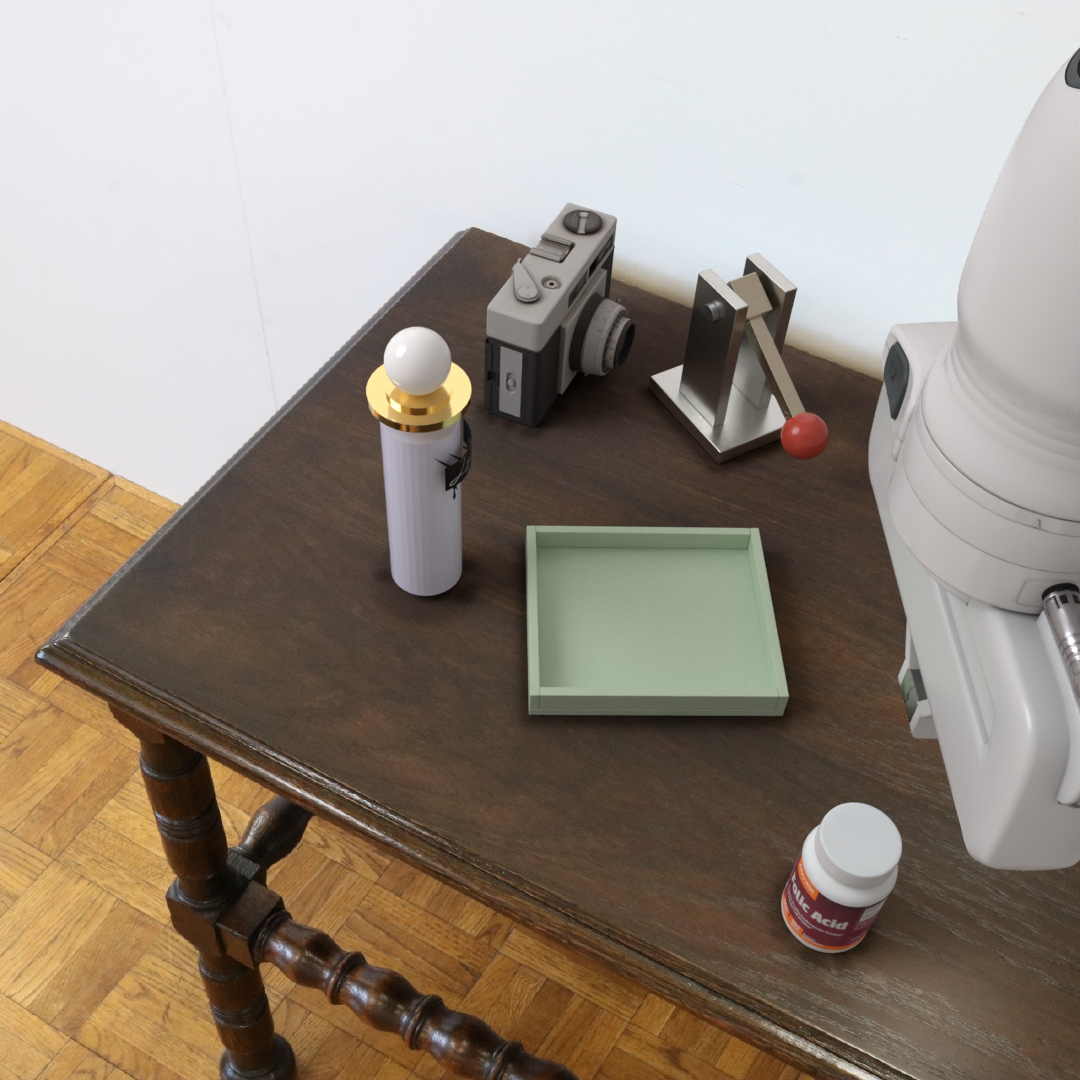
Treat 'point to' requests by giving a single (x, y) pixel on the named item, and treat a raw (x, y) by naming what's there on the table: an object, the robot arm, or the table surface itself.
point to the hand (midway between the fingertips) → (923, 710)
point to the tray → (651, 622)
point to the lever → (779, 375)
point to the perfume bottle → (422, 457)
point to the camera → (555, 318)
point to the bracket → (727, 366)
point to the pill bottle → (842, 878)
